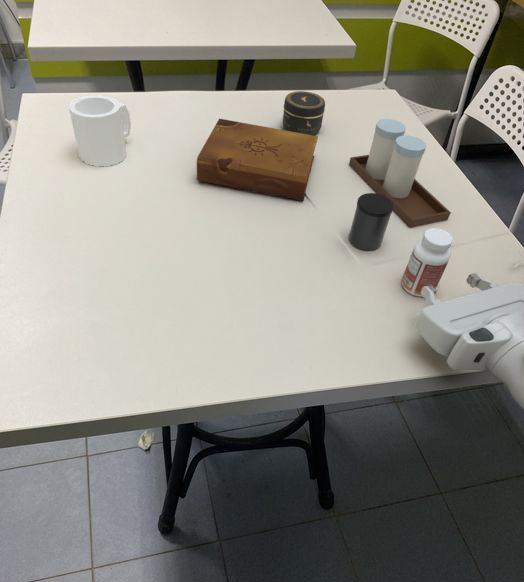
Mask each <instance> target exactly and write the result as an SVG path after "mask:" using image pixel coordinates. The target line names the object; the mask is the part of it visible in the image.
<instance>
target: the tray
mask: <svg viewBox="0 0 524 582" xmlns="http://www.w3.org/2000/svg"><path fill="white" fill-rule="evenodd" d="M368 157H369V154H363V155H358V156H351V157H350V158H349V162H348V166H349V167H350V168H351V169H352V170H353V171H354V172H355V173H356V174H357V175H358V177H360V179H361V180H362V181H363V182H365V183H366V185H367V186H368V187H369V188H370V189H371V190H372V191H373V193H376V194H380V195H383V196H385V197H387V198H389V199H390V200H391V201H392V202H393V205H394V208H393V211H392V212H393V213H394V214H395V215H396V216H397V217H398V218H399V219H400V220H401V221H402V223H404V224H405V225H406V227H408V229H412V228H416V227H421V226H425V225H430V224H431V225H432V224H435V223H439V222H446V221H448V219H449V218H450V215H451V213H452V212H451V211H450V210H449V209H448V208H447V207H446V206H445V205H444V204H443V203H441V201H439V200H438V199H437V198H436V197H435V196H434V195H433V194H432V193H431V192H430V191H428V189H426V188H425V187H424V186H423V185H422V184H421V183H420V182H419V181H418V180H417V179H416V178H415V179H414V182H413V185H412V187H411V190H410V193H409V195H408V196H407V197H405V198H394V197H391V196H390V195H389V194H388V193H387V191H386V190H385V189H384V188H383V184H384V180H376V179H374V178H373V177H372V176H371V175H370V174H369V173H368V172H367V171H366V170H365V169H366V165H367V161H368Z"/></svg>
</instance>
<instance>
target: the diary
mask: <svg viewBox="0 0 524 582" xmlns="http://www.w3.org/2000/svg"><path fill="white" fill-rule="evenodd" d="M317 142H318V136H317V135H315V136H313V135H307V134H302V133H296V132H291V131H285V130H284V129H279V128H274V127H268V126H264V125H257V124H252V123H247V122H241V121H235V120H229V119H225V118H218V119H217V122H216V123H215V125H214V127H213V129H212V130H211V132H210V134H209V136H208V138H207V139H206V141H205V143H204V145H203V147H202V148H201V150H200V152H199V153H198V155H197V158H196V181H198V182H202V183H206V184H213V185H217V186H223V187H227V188H233V189H239V190H244V191H248V192H254V193H260V194H265V195H271V196H276V197H280V198H286V199H291V200H296V201H302V202H304V199H305V196H306V190H307V187H308V183H309V179H310V175H311V171H312V167H313V163H314V160H315V151H316V146H317Z"/></svg>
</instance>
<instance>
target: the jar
mask: <svg viewBox="0 0 524 582" xmlns="http://www.w3.org/2000/svg"><path fill="white" fill-rule="evenodd" d="M325 108H326V100H325V98H323V97H322V95H321V96H320V95H319V94H317V93H314V92H310V91H305V90H297V91H292V92H290V93H288V94H287V95H286V96H285V97H284V104H283V114H282V127H283V130H285V131H291V132H296V133H302V134H307V135H313V136H317V135H318V134H319V132H320V131H321V129H322V126H323V120H324V114H325V110H326V109H325Z"/></svg>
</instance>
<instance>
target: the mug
mask: <svg viewBox="0 0 524 582" xmlns="http://www.w3.org/2000/svg"><path fill="white" fill-rule="evenodd" d="M68 111H69V115H70V120H71V125H72V129H73V134H74V138H75V142H76V147H77V152H78V155H79V159H80V158H81V159H80V160H81V162H83V161H84V162H85V163H84V162H83V163H84V164H86V163H88V164H90V165H89V166H92V165H94V166H93V167H99V166H104V167H111V165H112V166H115V165H118V164H120V163H122V162H123V161H125V160H126V158H127V156H126V155H128V154H127V148H126V147H127V146H126V139H125V138H127V137H129V136H130V135H131V128H132V127H131V126H132V121H131V116H130V112H129V109H128V108H127V106H126V104H124V103H121V102H119V101H118V100H117V99H115V98H113V97H111V96H107V95H100V94H89V95H82V96H80V97H76V98H74V99H73V100H71V101H70V103H69V104H68ZM125 157H126V158H125ZM121 161H122V162H121ZM119 162H120V163H119ZM88 164H87V165H88Z"/></svg>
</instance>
